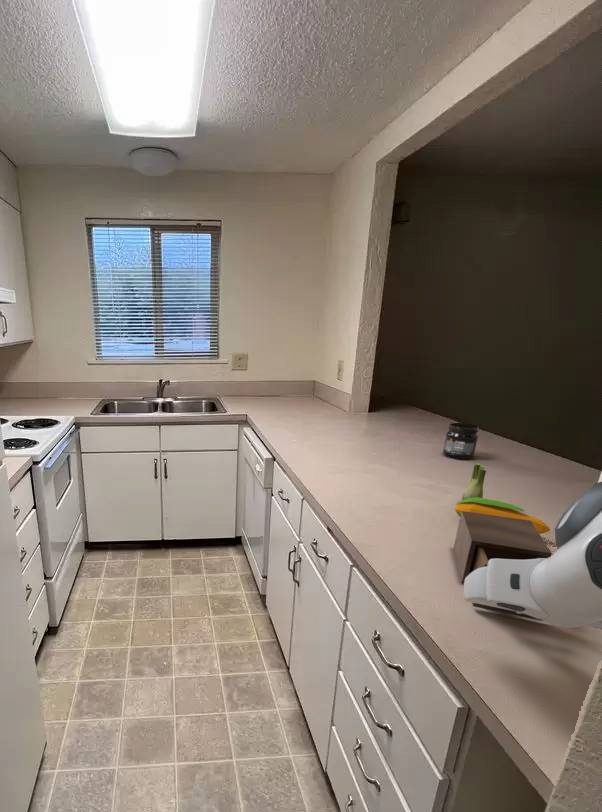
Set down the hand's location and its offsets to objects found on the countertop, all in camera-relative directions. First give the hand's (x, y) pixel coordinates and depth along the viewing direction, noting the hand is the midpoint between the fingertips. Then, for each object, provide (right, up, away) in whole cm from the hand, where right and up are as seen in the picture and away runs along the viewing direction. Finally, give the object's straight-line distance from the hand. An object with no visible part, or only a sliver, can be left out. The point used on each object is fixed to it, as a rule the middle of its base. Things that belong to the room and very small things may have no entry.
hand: (526, 610), depth 70 cm
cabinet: (+9, +2, +21) cm, 23 cm away
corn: (+23, +8, +39) cm, 46 cm away
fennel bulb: (+25, +13, +54) cm, 61 cm away
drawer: (+4, -1, +11) cm, 11 cm away
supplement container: (+47, +29, +97) cm, 111 cm away
